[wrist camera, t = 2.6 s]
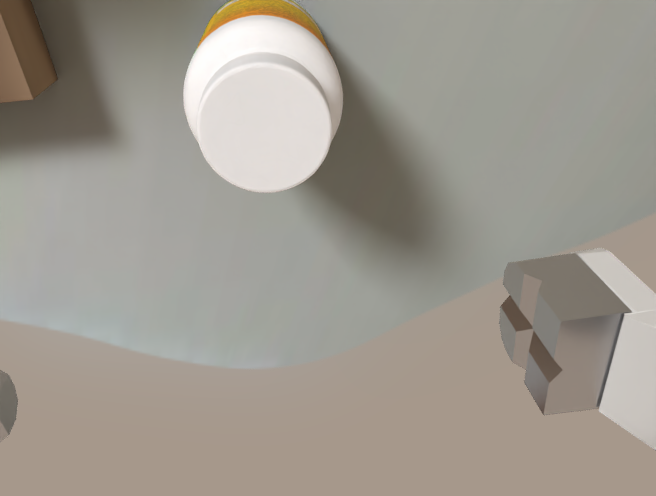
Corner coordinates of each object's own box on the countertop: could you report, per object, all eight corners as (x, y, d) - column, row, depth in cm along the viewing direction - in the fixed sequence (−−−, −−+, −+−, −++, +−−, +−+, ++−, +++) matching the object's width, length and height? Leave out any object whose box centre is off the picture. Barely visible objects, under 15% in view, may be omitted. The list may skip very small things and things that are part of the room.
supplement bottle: (186, 1, 22) (142, 53, 14) (314, -22, 22) (343, 18, 14) (219, 125, 25) (199, 228, 17) (332, 105, 25) (365, 197, 17)
